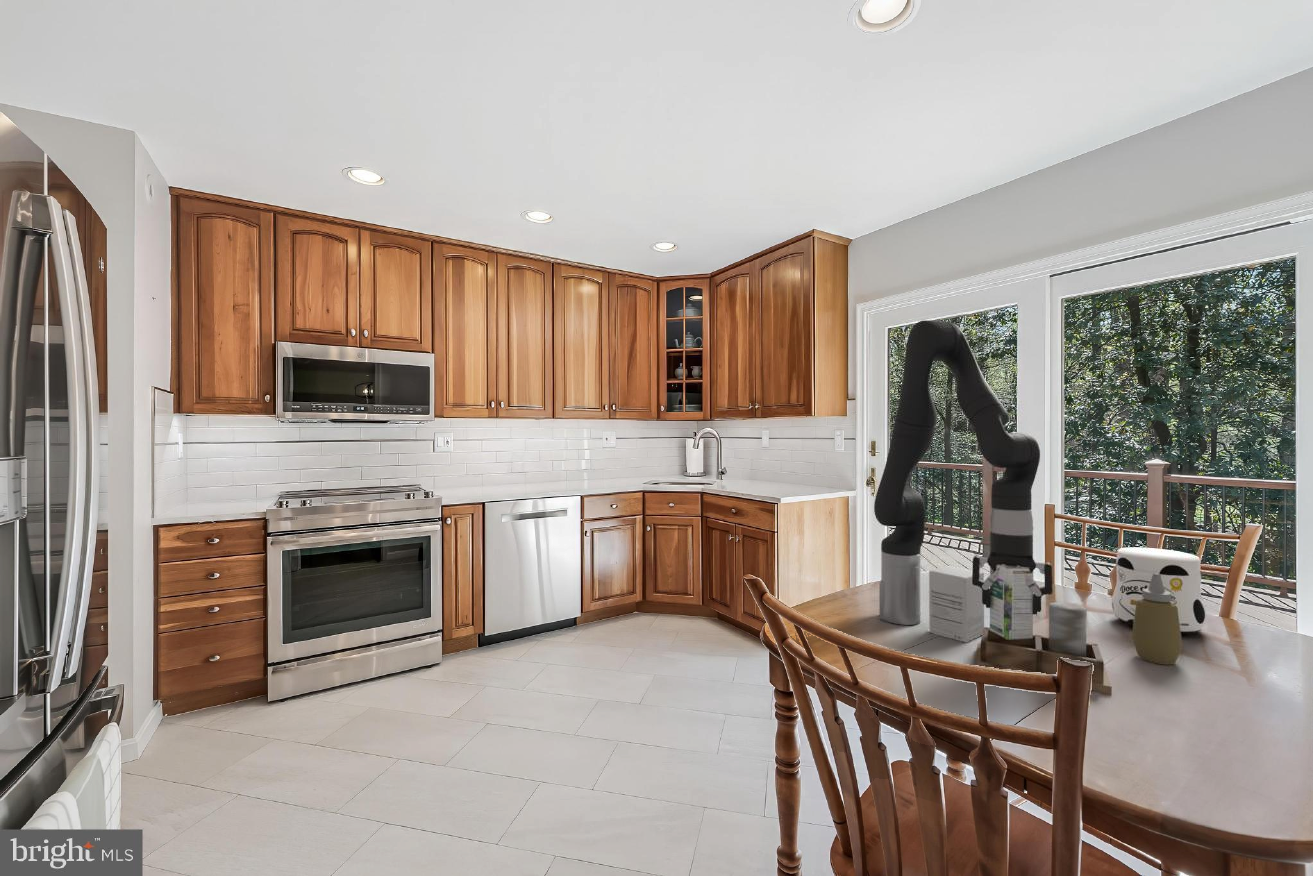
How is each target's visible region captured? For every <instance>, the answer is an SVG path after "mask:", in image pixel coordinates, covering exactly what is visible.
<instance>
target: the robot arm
mask: <svg viewBox="0 0 1313 876" xmlns="http://www.w3.org/2000/svg"><path fill="white" fill-rule="evenodd" d="M933 362H942V363H943V364H944V365H946V366H947V368H948V369H949V370H950V371H951V373H952V374H953V376H954V379H955V384H956V389H955V391H956V399H957V402H958V405H959V407H960V408H961V411H962V412H963V413H964V415H965V417H966V418H967V420H968V422H969V423H970V424H971V426H972V428H973V429H974V433H975V437H976V441H977V444H978V447H979V450H980V453H981V455H982V457H983V458H984V459H985V461H986V462H988V463H989V464H990V465H992V467H994V468H999V469H1000V468H1002V469H1005V470H1004V473H1003V476H1002V477H1001V478H998V479H997V480H994V481H993V483H992V484H991V489H990V490H991V499H990V500H991V501H990V502H991V503H990V504H991V506H990V508H991V509H990V517H989V556H988V557H983V556H979V555H978V554H975V555H974V556H973V557H972V569H971V570H972V584H973V585H975V586H978V587H980V588H981V589H982V603H983V604H984V606H985V608H987V609H990V586H991V585H992V584H993V583H994V582H995V581H996V580H997V579H998V574H997V573H998V572H999V570H1000V567H999V568H997V569H996V567H997V565H1000V566H1007V565H1013V566H1016V567H1027V568H1028V569H1029V570H1030V572H1032V571H1033V572H1034V571H1035V569H1036V568H1037V569H1038V571H1039V573H1040V574H1042V575H1044V577H1043V578H1044V586H1041V587H1039V585H1038V584H1037V582H1036V581H1035V579H1034V578H1033V581H1032V580H1031V578H1030V577H1029V576H1028V575H1027V574H1026V572H1025V571H1024V570H1023V572H1025V583H1026V584H1027V585H1028V587H1029V588H1030V589H1031V590H1032V591H1033V615H1036V616H1037V615H1038V613H1040V612H1042V597H1043V596H1045V595H1052V594H1053V567H1052V563H1051V562H1049V561H1045V562H1036V561H1035V560H1034V518H1033V513H1032V512H1033V511H1032V489H1033V485H1034V482H1035V479H1036V475H1037V473H1038V469H1039V465H1040V460H1041V450H1040V446H1039V443H1038V442H1037V439H1036V438H1034V436H1032V435H1031V434H1028V433H1023V432H1011V433H1010V432H1007V430H1006V429H1005V426H1006V425H1007V424H1008V422H1009V419H1010V416H1009V413H1008V411H1007V410H1006V408H1005V407H1004V405H1003V403H1002V402H1001V401H1000V400H999V398H998V396H997V395H996V393H994V391H993V389H992V388H991V387H990V385H989V383H988V382H987V380H986V378H985V377H984V375H983V373H982V371H981V368H980V366H979V365H978V362H977V360H976V358H975V355H974V354H973V351H972V349H971V347H970V344H969V342H968V340H967V337H966V336H965V334H964V332H963V331H962V329H961V328H960V326H959V325H957V324H956V323H954V322H950V321H944V320H943V321H941V320H940V321H939V320H928V319H927V320H920V321H918V322H916V323H915V324H914V325H913V326H912V328H911V329H910V332H909V333H908V336H907V340H906V346H905V356H904V365H903V367H904V368H903V377H902V385H901V389H900V394H899V400H898V406H897V410H896V414H895V418H894V422H893V423H894V424H893V426H892V434H891V439H890V444H889V449H888V453H887V457H886V461H885V464H884V465H885V466H884V469H883V473H882V475H881V479H880V482H879V485H878V488H877V492H876V494H875V497H874V498H875V499H874V505H873V511H874V516H875V518H876V520H877V522H878V523H879V524H880V525H882V526H884V527H885V526H886V527H895V528H894V529H893V531H892V533H890V534H889V535H888V536H886V537H885V538H883V539H882V540H881V546H880V549H881V552H880V556H881V558H880V560H881V561H880V563H881V564H880V565H881V572H880V573H881V576H880V579H881V580H880V581H879V584H878V585H879V586H878V587H879V588H878V589H879V592H878V593H879V595H878V597H879V598H878V599H879V603H878V605H879V607H878V608H879V609H878V610H879V612H878V613H879V617H878V618H879V620H882V621H886V622H887V623H892V624H896V625H903V626H904V625H905V626H908V625H909V626H911V625H918V624H920V623H921V615H922V613H921V612H922V611H921V589H922V588H921V584H922V583H921V567H922V566H921V548H922V545H923V543H924V539H925V525H926V524H925V522H926V506H925V501H924V498H923V496H922V495H921V493H920V492H919V491H917V490H916V489H913V488H906V486H907V482H908V479H909V477H910V474H911V473H912V472H913V470H914V469H915V467H917V465H918V464H919V462H920V461H921V460H922V459H923V457H924V456H925V455H926V454H927V452H928V450H929V449H930V447H931V445H932V443H933V439H934V435H935V431H936V425H937V422H938V421H937V420H938V413H937V409H936V405H935V402H934V400H933V396H932V393H931V389H930V378H931V377H930V375H931V370H932V365H933ZM985 564H988V566H989V568H990V567H991V569H992V570H993V571H994V573H993V574H992V575H990V574H989V575H988V576H987V578H986V579H984V581H982V580H980V579H979V578H980V570H981V568H984V566H985ZM1021 569H1022V568H1021ZM994 576H995V577H994ZM1027 580H1028V581H1027Z"/></svg>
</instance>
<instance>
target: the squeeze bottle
mask: <svg viewBox="0 0 1313 876" xmlns="http://www.w3.org/2000/svg"><path fill="white" fill-rule="evenodd" d="M1142 597H1143V598H1142V599H1139V600H1138V601H1136V608H1135V616H1134V623H1133V626H1132V633H1131V640H1132V642H1133V646H1134V649H1135V651H1136V654H1137V656H1138V657H1139V658H1140V659H1142V660H1144V661H1146V662H1149V663H1155V664H1160V665H1174V664H1176V662H1177V660H1178V659H1179V658H1178V657H1179V656H1180V653H1181V651H1182V650H1183V640H1182V634H1181V631H1180V623H1179V615H1178V608H1177V606H1176V605H1175V604H1173V603H1171V602H1170V601H1171V597H1172V594H1171V593H1170V592H1167V591H1165V590H1164V586H1163V582H1162V579H1161V575H1160V574H1156V573H1153V575H1152V579H1151V582H1150V586H1149V589H1143V590H1142Z"/></svg>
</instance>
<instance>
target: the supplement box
mask: <svg viewBox="0 0 1313 876" xmlns="http://www.w3.org/2000/svg"><path fill="white" fill-rule="evenodd" d="M972 570H973V569H968V568H964V567H963V568H962V567H958V566H954V565H946V566H942V567H937V568H935V569H931V570H929V571H928V572H929V573H928V577H929V579H928V581H929V582H928V583H929V584H928V587H929V588H928V589H929V591H928V594H929V602H928V603H929V604H928V605H929V606H928V607H929V609H928V610H929V614H928V616H929V619H928V621H929V623H928V624H929V627H928V628H929V633H931V634H934V635H938V636H942V637H945V638H948V639H952V638H953V639H952V640H955V641H959V640H960V641H959V642H962V641H963V642H962V643H968V642H971V641H973V640H975V639H976V638H979V637H982V636H981V635H982V632H983V627H985V605H984V604H983V603H982V589H981V588H980V587H978V586H975V585H973V584H972ZM984 575H985V574H984V572H983V571H980V578H979V579H980V580H982V581H985V577H984ZM974 638H975V639H974ZM970 640H971V641H970Z"/></svg>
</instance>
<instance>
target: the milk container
mask: <svg viewBox="0 0 1313 876" xmlns="http://www.w3.org/2000/svg"><path fill="white" fill-rule="evenodd" d="M1115 561H1116V583H1115V584H1116V585H1115V588H1114V590H1113V593H1112V597H1111V606H1112V612H1113V614H1114V617H1116V618H1117V619H1118V620H1119V621H1121V622H1123V623H1125V624H1126V625H1129V626H1132V627H1133V623H1134V616H1135V608H1136V601H1138V600H1139V599H1142V598H1143V597H1142V590H1143V589H1149V586H1150V582H1151V579H1152V575H1153V573H1156V574H1160V575H1161V579H1162V582H1163V586H1164V590H1165V591H1167V592H1170V593H1171V594H1172V597H1171V601H1170V602H1171V603H1173V604H1175V605H1176V606H1177V608H1178V615H1179V623H1180V631H1181V635H1186V634H1187V635H1188V634H1189V635H1190V634H1191V635H1192V634H1194V633H1198V632H1200V631H1202V630H1203V629H1204V627H1205V624H1206V619H1207V612H1206V611H1207V610H1206V606H1205V604H1204V602H1203V597H1202V591H1201V590H1202V589H1201V585H1202V573H1201V569H1202V567H1201V560H1200V557H1199V556H1197V555H1196V554H1193V553H1187V552H1183V551H1178V550H1170V549H1163V548H1152V547H1139V546H1138V547H1134V546H1133V547H1121V548H1118V549H1117V553H1116V559H1115Z"/></svg>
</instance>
